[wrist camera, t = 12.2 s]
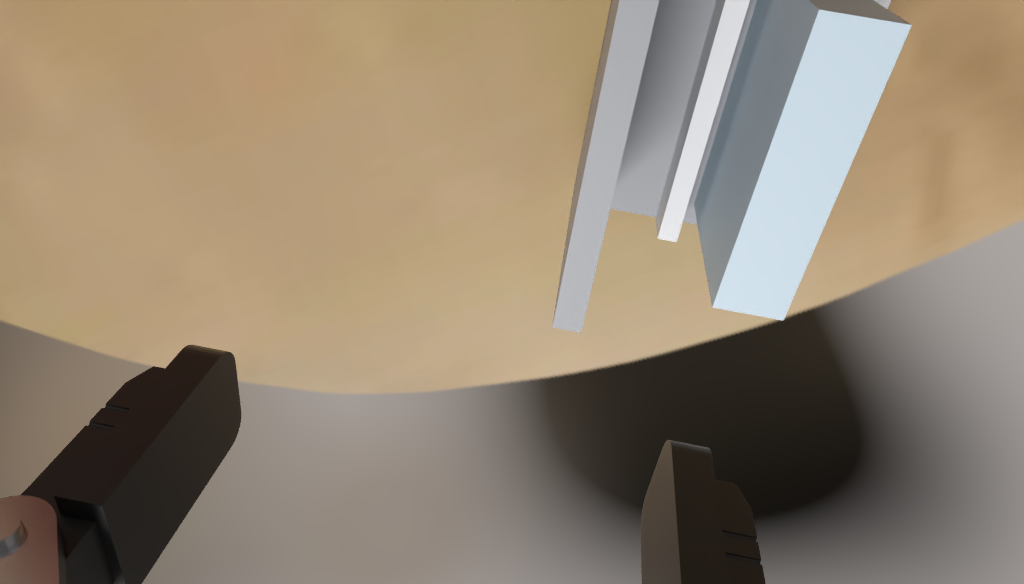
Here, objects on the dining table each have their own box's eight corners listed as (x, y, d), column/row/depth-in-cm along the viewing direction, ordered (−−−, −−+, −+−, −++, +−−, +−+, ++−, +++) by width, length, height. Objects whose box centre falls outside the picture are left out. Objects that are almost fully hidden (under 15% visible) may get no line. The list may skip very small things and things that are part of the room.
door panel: (768, -36, 31) (819, 9, 23) (835, -25, 31) (911, 24, 23) (693, 204, 38) (712, 307, 29) (748, 214, 38) (783, 320, 29)
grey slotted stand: (633, -109, 32) (636, -82, 20) (896, -67, 31) (1054, -13, 20) (574, 186, 40) (552, 327, 29) (781, 224, 40) (844, 383, 28)
